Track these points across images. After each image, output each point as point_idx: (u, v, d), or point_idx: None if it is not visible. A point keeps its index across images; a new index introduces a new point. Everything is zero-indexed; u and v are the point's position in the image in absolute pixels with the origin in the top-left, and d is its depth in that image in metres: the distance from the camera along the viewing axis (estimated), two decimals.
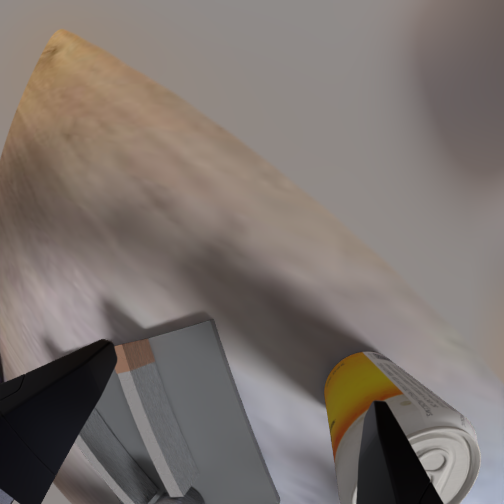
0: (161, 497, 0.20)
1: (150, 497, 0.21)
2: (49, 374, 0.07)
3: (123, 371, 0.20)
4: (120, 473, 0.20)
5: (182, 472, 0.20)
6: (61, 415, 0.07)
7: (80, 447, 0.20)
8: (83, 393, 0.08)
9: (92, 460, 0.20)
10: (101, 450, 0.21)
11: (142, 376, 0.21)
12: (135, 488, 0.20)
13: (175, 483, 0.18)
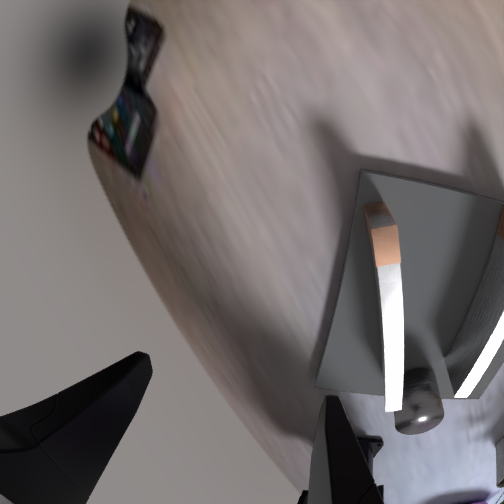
0: (421, 389, 0.19)
1: None
2: (85, 393, 0.07)
3: None
4: None
5: None
6: (98, 435, 0.07)
7: (387, 334, 0.16)
8: (120, 410, 0.08)
9: (392, 352, 0.17)
10: None
11: None
12: None
13: (474, 384, 0.16)
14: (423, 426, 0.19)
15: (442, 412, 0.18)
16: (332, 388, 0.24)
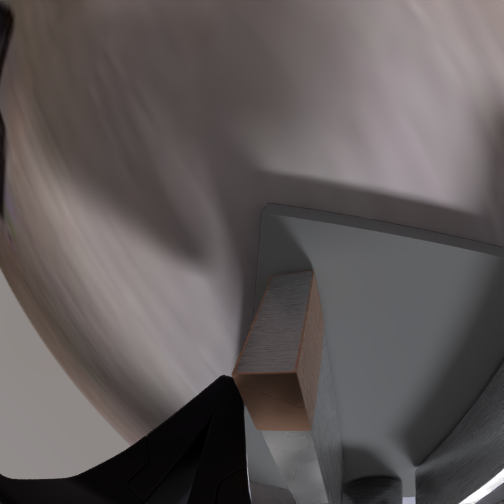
0: None
1: (342, 503, 0.12)
2: (181, 432, 0.07)
3: None
4: (336, 499, 0.10)
5: None
6: (192, 473, 0.07)
7: (297, 494, 0.08)
8: None
9: None
10: (332, 478, 0.09)
11: None
12: None
13: None
14: None
15: None
16: (260, 482, 0.16)
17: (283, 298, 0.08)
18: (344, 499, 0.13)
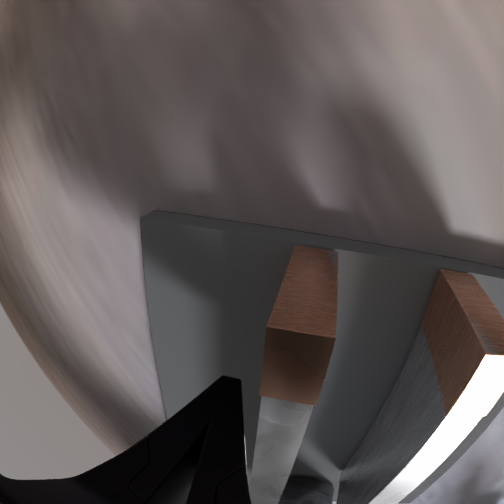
0: None
1: None
2: (182, 432, 0.07)
3: (468, 414, 0.05)
4: None
5: None
6: (192, 473, 0.07)
7: (257, 475, 0.08)
8: None
9: (262, 492, 0.09)
10: None
11: None
12: None
13: None
14: None
15: None
16: None
17: (311, 268, 0.08)
18: None
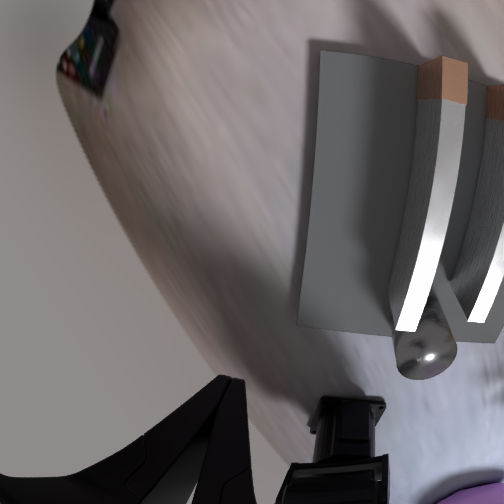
0: (434, 316, 0.16)
1: None
2: (178, 431, 0.07)
3: None
4: None
5: None
6: (189, 472, 0.07)
7: (434, 197, 0.12)
8: (208, 441, 0.08)
9: (434, 229, 0.13)
10: None
11: None
12: None
13: (491, 302, 0.14)
14: (427, 369, 0.16)
15: (455, 352, 0.15)
16: (317, 325, 0.22)
17: None
18: None
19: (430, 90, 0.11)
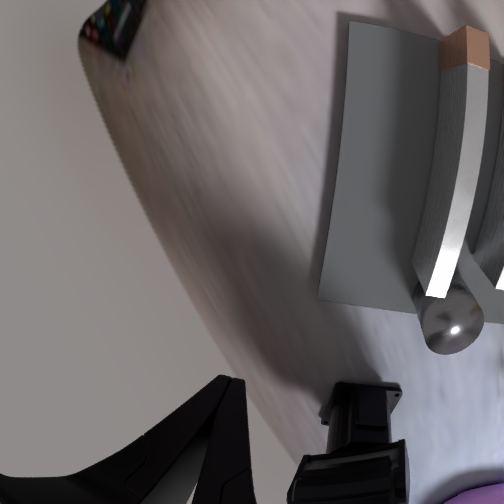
0: (460, 286, 0.16)
1: None
2: (178, 431, 0.07)
3: None
4: None
5: None
6: (189, 472, 0.07)
7: (464, 154, 0.11)
8: (208, 441, 0.08)
9: (464, 186, 0.12)
10: None
11: None
12: None
13: None
14: (454, 342, 0.15)
15: (482, 323, 0.14)
16: (339, 299, 0.21)
17: None
18: None
19: (454, 58, 0.11)
